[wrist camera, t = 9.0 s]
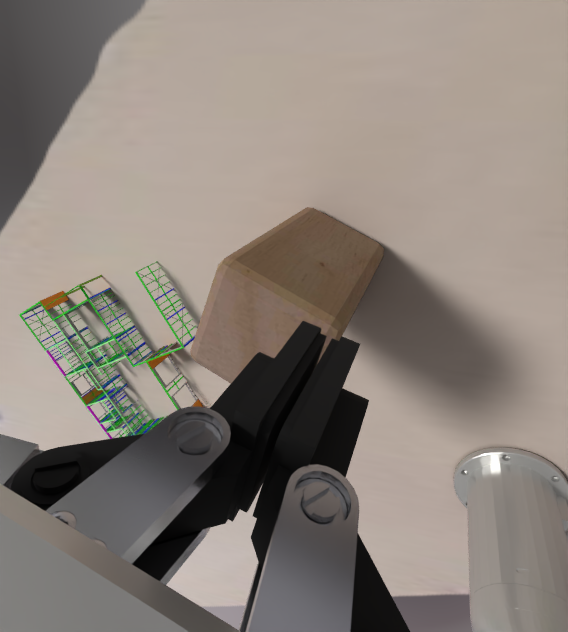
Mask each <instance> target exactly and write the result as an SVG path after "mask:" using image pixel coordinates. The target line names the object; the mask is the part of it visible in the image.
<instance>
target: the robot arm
mask: <svg viewBox="0 0 568 632" xmlns="http://www.w3.org/2000/svg"><path fill="white" fill-rule="evenodd" d="M326 337H327V336H326V335H323V334H321V328H320V327H318V326H315V325H313V324H310V323H308V322H305V321H302V322H301V324H300V325H299V326H298V328H297V329H296V330H295V332H294V333H293V334H292V336H291V337H290V338H289V340H288V341H287V342H286V344H285V345H284V346H283V348H282V349H281V350H280V352H279V353H278V354H277V356H276V357H275V358H272V357H270V356H268V355H266V354H263V353H261V352H258V353H257V354H256V355H255V356H254V357H253V358H252V360H251V361H250V362H249V363H248V364H247V365H246V367H245V368H244V369H243V370H242V371H241V373H240V374H239V375H238V376H237V377H236V378H235V380H234V381H233V382H232V383H231V384H230V386H229V387H228V388H227V389H226V390H225V391H224V393H223V394H222V395H221V396H220V397H219V399H218V400H217V401H216V402H215V403H214V404H213V406H212V407H211V408H210V409H209V408H205V407H200V406H195V407H186V408H182V409H179V410H177V411H175V412H173V413H172V414H170V415H169V416H167V417H166V418H165V419H164V420H162V421H161V422H160V423H158V424H157V425H156V426H154V427H153V428H152V429H151V430H149V431H148V432H147V433H145V434H139V435H132V436H126V437H120V438H113V439H107V440H101V441H95V442H88V443H82V444H76V445H69V446H63V447H58V448H54V449H50V450H46V451H42V450H39V446H38V444H35V443H31V442H27V441H24V440H20V439H16V438H13V437H9V436H5V435H1V434H0V632H410V631H409V629H408V627H407V625H406V623H405V621H404V619H403V617H402V615H401V614H400V612H399V610H398V608H397V606H396V604H395V602H394V601H393V598H392V597H391V595H390V593H389V591H388V589H387V587H386V585H385V583H384V582H383V580H382V578H381V576H380V574H379V572H378V570H377V568H376V566H375V565H374V563H373V561H372V559H371V557H370V555H369V553H368V551H367V550H366V548H365V546H364V544H363V542H362V540H361V538H360V536H359V535H358V520H359V502H358V497H357V495H356V492H355V490H354V488H353V487H352V485H351V484H350V482H349V481H348V480H347V479H346V478H345V477H346V474H347V471H348V467H349V464H350V461H351V458H352V454H353V451H354V448H355V445H356V441H357V438H358V435H359V432H360V429H361V425H362V422H363V419H364V416H365V412H366V409H367V406H368V402H369V400H367V399H365V398H363V397H361V396H358V395H356V394H354V393H352V392H349V391H347V390H345V389H343V388H342V387H343V385H344V382H345V380H346V378H347V375H348V373H349V370H350V368H351V365H352V363H353V360H354V358H355V356H356V353H357V351H358V348H359V346H360V344H359V343H356V342H354V341H352V340H349V339H347V338H344V337H341V338H340V340H339V341H338V340H335V339H333V338H332V339H331V341H330V343H329V345H328V346H327V348H326V350H325V352H324V353H323V355H322V357H321V359H320V361H319V362H318V360H319V358H320V355H321V352H322V349H323V346H324V343H325V340H326ZM317 363H318V364H317ZM262 484H263V485H262ZM261 485H262V488H261V491H260V494H259V498H258V501H257V504H256V507H255V510H254V513H253V516H254V517H255V518H257V520H256V523H255V526H254V529H253V532H252V535H251V539H252V542H253V546H254V549H255V552H256V555H257V558H258V564H257V567H256V570H255V574H254V577H253V581H252V584H251V588H250V591H249V595H248V598H247V602H246V605H245V609H244V612H243V616H242V619H241V623H240V627H239V630H237V629H235V628H234V627H232V626H231V625H229V624H227V623H226V622H224V621H223V620H221V619H219V618H218V617H216V616H214V615H213V614H211V613H210V612H208V611H206V610H205V609H203V608H202V607H200V606H198V605H197V604H195V603H194V602H192V601H190V600H189V599H187V598H185V597H184V596H182V595H181V594H179V593H177V592H176V591H174V590H173V589H171V588H169V587H168V586H166V584H167V583H168V582H169V581H170V579H171V578H172V577H173V576H174V574H175V573H176V572H177V571H178V570H179V568H180V567H181V566H182V565H183V563H184V562H185V561H186V560H187V558H188V557H189V556H190V555H191V554H192V552H193V551H194V550H195V549H196V547H197V546H198V545H199V544H200V542H201V541H202V540H203V539H204V538H205V536H206V534H207V533H208V531H209V529H210V527H214V526H217V525H221V524H225V523H226V522H227V520H228V519H229V520H231V521H233V520H234V518H235V517H236V515H237V513H238V511H239V509H241V510H243V511H244V512H247V511H248V510H249V508H250V506H251V504H252V502H253V500H254V499H255V497H256V495H257V493H258V491H259V489H260V487H261ZM454 489H455V492H456V495H457V497H458V498H459V500H460V501H461V503H462V504H463V505H464V506H465V507H466V508H467V513H468V550H469V587H470V616H471V625H472V629H473V632H568V482H567V480H566V478H565V476H564V475H563V474H562V472H561V471H560V470H559V469H558V468H557V467H556V466H554V465H553V464H552V463H551V462H549V461H547V460H546V459H544V458H542V457H540V456H538V455H536V454H533V453H531V452H528V451H524V450H520V449H514V448H502V447H496V448H488V449H483V450H479V451H476V452H474V453H472V454H470V455H468V456H467V457H465V458H464V459H463V460H461V462H460V463H459V464H458V465H457V467H456V470H455V472H454Z"/></svg>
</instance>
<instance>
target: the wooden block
mask: <svg viewBox="0 0 568 632" xmlns="http://www.w3.org/2000/svg"><path fill="white" fill-rule="evenodd" d="M383 255H384V248H383V247H382V246H381V245H380V244H379V243H377V242H375V241H374V240H372V239H370V238H368V237H366V236H364V235H362V234H361V233H359V232H357V231H355V230H353V229H351V228H349V227H348V226H346V225H344V224H342V223H340V222H338V221H336V220H335V219H333V218H331V217H329V216H327V215H325V214H324V213H322V212H320V211H318V210H316V209H314V208H305V209H304V210H302V211H300V212H299V213H297V214H296V215H294V216H292V217H291V218H289V219H288V220H286V221H284V222H283V223H281V224H279V225H278V226H276V227H275V228H273V229H271V230H270V231H268V232H267V233H265V234H263V235H262V236H260V237H258V238H257V239H255V240H254V241H252V242H250V243H249V244H247V245H246V246H244V247H242V248H241V249H239V250H237V251H236V252H234V253H233V254H231V255H229V256H228V257H226V258H225V259H224V260H223V261H222V262H221V263H220V264H219V265H218V268H217V271H216V274H215V277H214V280H213V283H212V286H211V289H210V292H209V295H208V298H207V301H206V305H205V308H204V311H203V314H202V317H201V320H200V323H199V326H198V329H197V332H196V335H195V338H194V341H193V344H192V348H191V351H190V352H191V357H192V358H193V359H194V360H195V361H196V362H197V363H199V364H200V365H202V366H204V367H205V368H207V369H208V370H210V371H212V372H213V373H215V374H216V375H218V376H220V377H221V378H223V379H224V380H226V381H228V382H229V383H232V382H233V381H234V380H235V378H236V377H237V376H238V375H239V374H240V373H241V371H242V370H243V369H244V368H245V367H246V365H247V364H248V363H249V362H250V361H251V360H252V358H253V357H254V356H255V355H256V354H257V353H258V352H261V353H263V354H266V355H268V356H270V357H272V358H275V357H276V356H277V354H278V353H279V352H280V350H281V349H282V348H283V346H284V345H285V344H286V342H287V341H288V340H289V338H290V337H291V336H292V334H293V333H294V332H295V330H296V329H297V328H298V326H299V325H300V324H301V322H302V321H305V322H308V323H310V324H313V325H315V326H318V327H320V328H321V334H323V335H326V336H327V337H326V340H325V343H324V346H323V349H322V352H321V355H320V358H319V360H318V362H319V361H320V359H321V357H322V355H323V353H324V352H325V350H326V348H327V346H328V345H329V343H330V341H331V339H332V338H333V339H335V340H338V341H339V340H340V338H341V337H342V335H343V333H344V331H345V329H346V327H347V325H348V323H349V321H350V319H351V317H352V316H353V314H354V312H355V310H356V308H357V306H358V304H359V302H360V300H361V298H362V296H363V294H364V292H365V291H366V289H367V287H368V285H369V283H370V281H371V279H372V277H373V275H374V273H375V271H376V269H377V267H378V266H379V264H380V262H381V260H382V258H383ZM317 364H318V363H317Z"/></svg>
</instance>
